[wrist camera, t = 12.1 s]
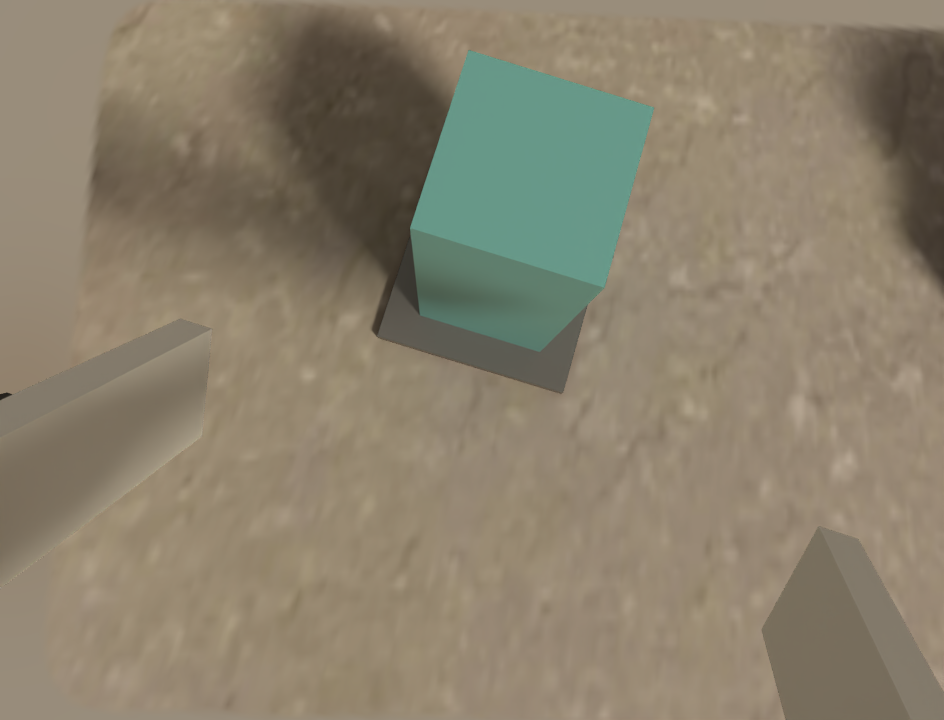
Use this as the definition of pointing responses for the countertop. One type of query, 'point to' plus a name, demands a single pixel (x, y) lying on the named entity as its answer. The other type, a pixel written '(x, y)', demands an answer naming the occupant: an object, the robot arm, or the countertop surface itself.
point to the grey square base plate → (474, 339)
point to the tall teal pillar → (523, 201)
